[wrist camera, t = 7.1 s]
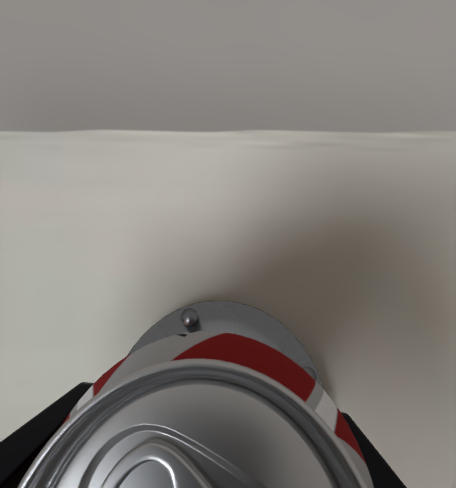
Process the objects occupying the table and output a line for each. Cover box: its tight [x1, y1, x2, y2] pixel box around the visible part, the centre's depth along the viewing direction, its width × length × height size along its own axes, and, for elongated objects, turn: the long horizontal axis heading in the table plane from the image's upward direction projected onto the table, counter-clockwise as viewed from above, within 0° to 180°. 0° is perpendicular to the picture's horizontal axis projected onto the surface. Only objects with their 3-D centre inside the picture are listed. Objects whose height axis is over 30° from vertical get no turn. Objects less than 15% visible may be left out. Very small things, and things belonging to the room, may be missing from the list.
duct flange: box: [127, 301, 324, 389], centre depth 15 cm, size 12×12×1 cm
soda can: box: [17, 331, 374, 488], centre depth 9 cm, size 7×7×12 cm
